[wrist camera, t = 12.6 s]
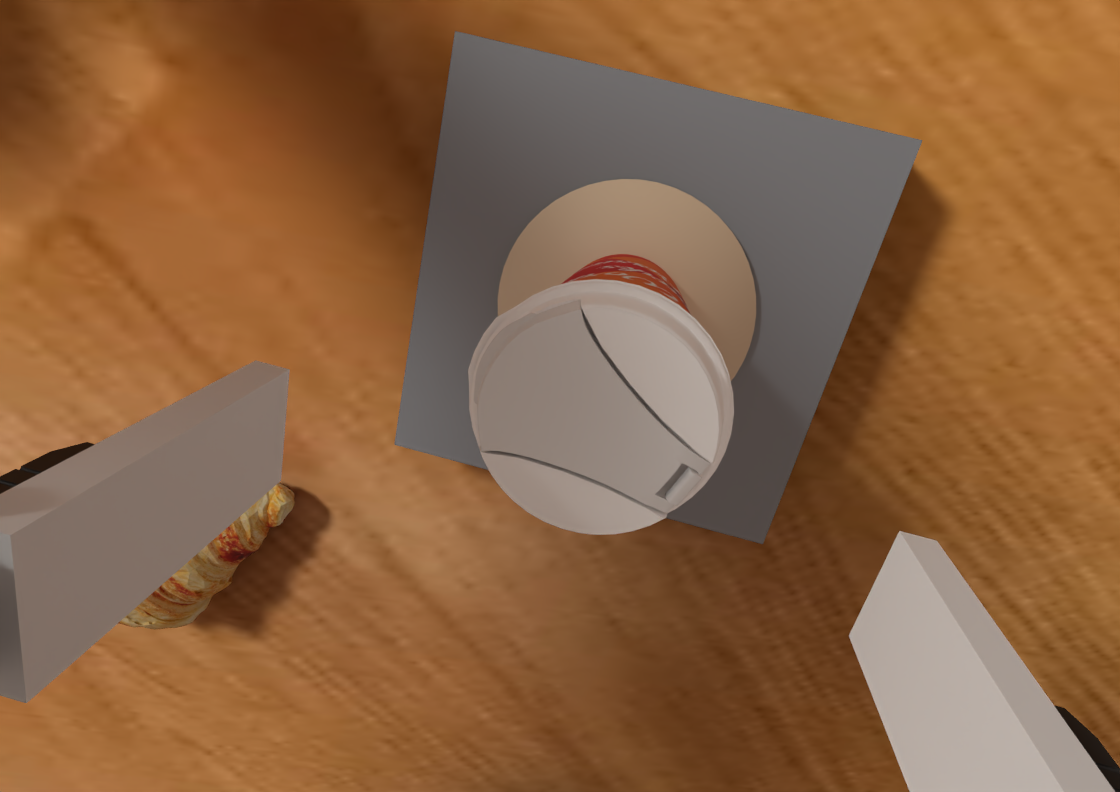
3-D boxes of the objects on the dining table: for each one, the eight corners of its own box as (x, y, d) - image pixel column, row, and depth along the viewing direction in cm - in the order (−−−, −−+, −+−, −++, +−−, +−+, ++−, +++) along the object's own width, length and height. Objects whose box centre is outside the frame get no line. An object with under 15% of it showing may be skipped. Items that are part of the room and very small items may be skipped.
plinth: (419, 417, 40) (391, 447, 36) (478, 45, 32) (452, 29, 28) (753, 506, 38) (763, 548, 34) (891, 141, 31) (925, 140, 27)
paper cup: (741, 294, 30) (801, 401, 17) (640, 420, 33) (626, 596, 20) (598, 192, 30) (549, 224, 17) (508, 330, 32) (404, 450, 19)
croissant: (306, 423, 45) (211, 411, 37) (343, 570, 43) (250, 589, 35) (77, 523, 50) (-47, 531, 43) (99, 659, 48) (-27, 693, 40)
